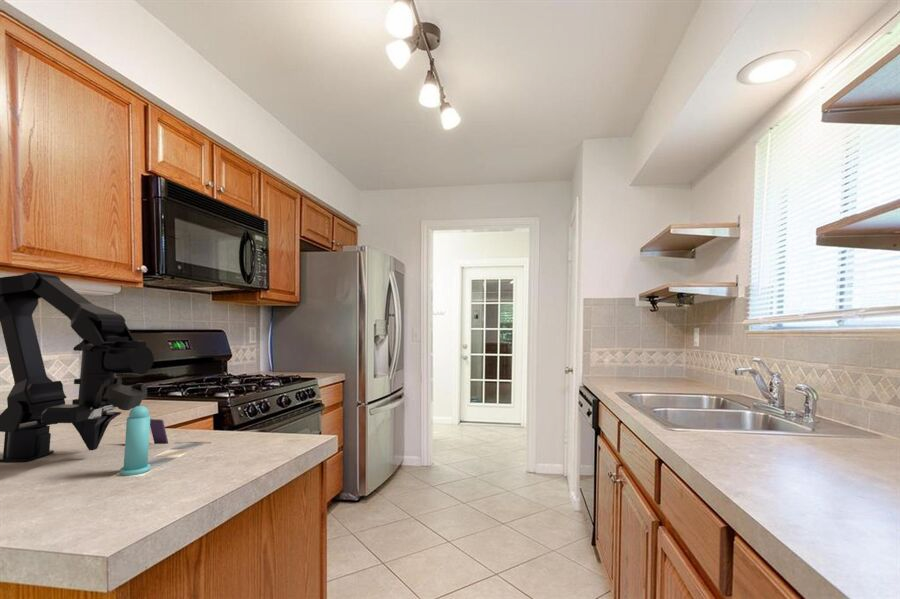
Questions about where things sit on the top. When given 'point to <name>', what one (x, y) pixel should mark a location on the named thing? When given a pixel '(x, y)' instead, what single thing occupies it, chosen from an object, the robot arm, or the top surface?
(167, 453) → the board
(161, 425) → the purple piece
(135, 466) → the pawn
